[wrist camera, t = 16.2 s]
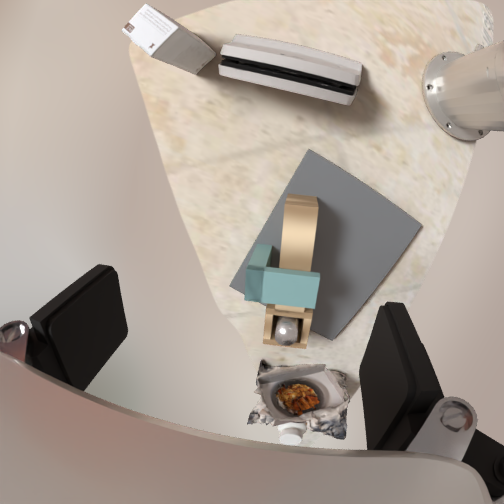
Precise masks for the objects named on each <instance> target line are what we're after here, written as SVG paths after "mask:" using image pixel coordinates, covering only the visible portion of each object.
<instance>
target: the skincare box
mask: <svg viewBox="0 0 504 504" xmlns="http://www.w3.org/2000/svg"><path fill="white" fill-rule="evenodd" d="M122 32H124V33H125V34H126V35H127V36H128V37H129V38H130V39H131V40H132V41H133V42H134V43H135V44H136V45H138V46H139V47H140V48H141V49H143V50H144V51H145V52H146V53H147V54H148V55H149V56H150V57H153V58H155V59H158V60H160V61H163V62H166V63H168V64H171V65H173V66H176V67H178V68H180V69H183V70H185V71H187V72H190V73H192V74H197V73H198V72H199V71H200V70H201V69H202V68H203V67H204V66H205V65H206V64H207V63H208V62H209V61H211V60H212V59H213V58H214V57H215V56H216V53H215V52H214V51H213V50H212V49H211V48H210V47H209V46H208V45H207V44H206V43H205V42H204V41H203V40H201V39H200V38H199V37H198V36H196V35H195V34H194V33H192V32H191V31H189V30H188V29H187V28H185V27H184V26H182V25H181V24H179V23H178V22H176V21H175V20H173V19H172V18H170V17H169V16H167V15H165V14H164V13H162V12H161V11H159V10H157V9H155V8H153V7H152V6H150V5H148V4H147V3H146V4H145V5H144V6H143V7H142V8H141V9H140V10H139V11H138V12H137V13H136V14H135V15H134V17H133V18H132V19H131V20H130V21H129V22H128V23H127V25H126V26H125V27H124V28H123V29H122Z"/></svg>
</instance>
